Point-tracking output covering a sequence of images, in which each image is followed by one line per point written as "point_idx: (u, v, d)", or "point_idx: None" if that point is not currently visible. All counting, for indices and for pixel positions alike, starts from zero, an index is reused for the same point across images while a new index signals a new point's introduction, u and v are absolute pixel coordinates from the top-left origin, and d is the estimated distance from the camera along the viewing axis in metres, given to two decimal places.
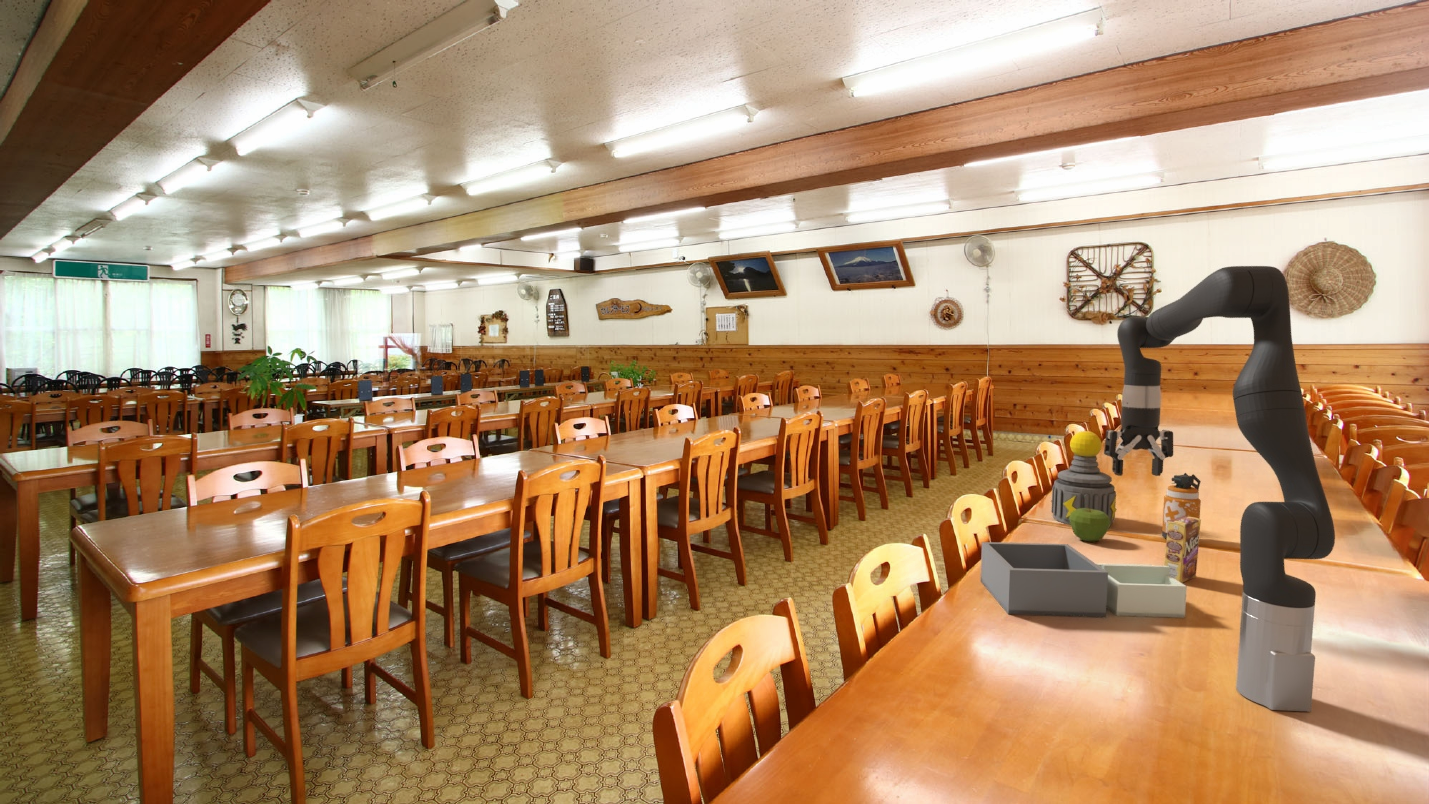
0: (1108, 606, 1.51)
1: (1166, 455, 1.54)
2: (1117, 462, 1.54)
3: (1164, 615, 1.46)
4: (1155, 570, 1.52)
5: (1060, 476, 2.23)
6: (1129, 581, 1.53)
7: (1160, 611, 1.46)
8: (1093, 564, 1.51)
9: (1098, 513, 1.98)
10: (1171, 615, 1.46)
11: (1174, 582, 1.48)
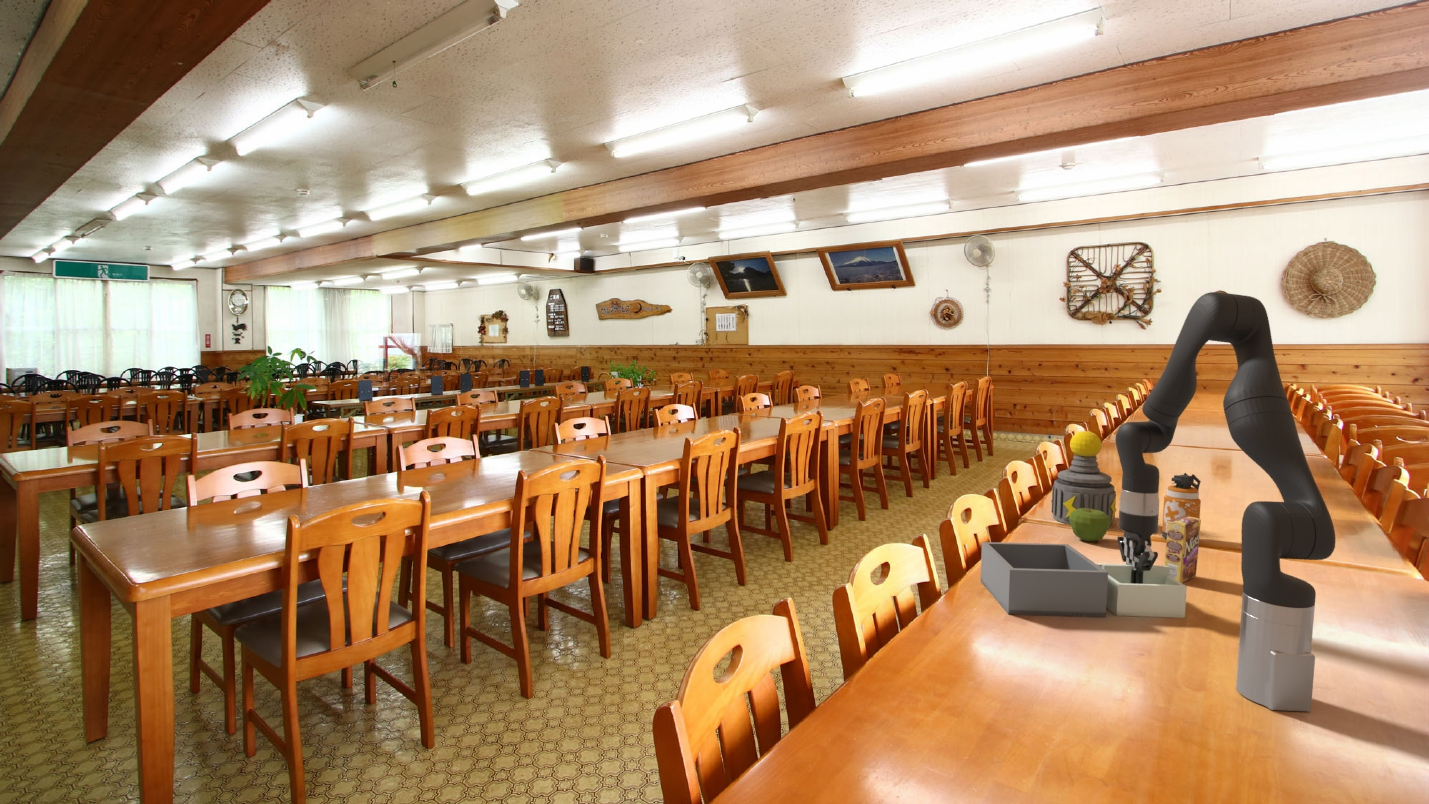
0: (1108, 606, 1.51)
1: None
2: None
3: (1164, 615, 1.46)
4: (1155, 570, 1.52)
5: (1060, 476, 2.23)
6: (1129, 581, 1.53)
7: (1160, 611, 1.46)
8: (1093, 564, 1.51)
9: (1098, 513, 1.98)
10: (1171, 615, 1.46)
11: (1174, 583, 1.48)
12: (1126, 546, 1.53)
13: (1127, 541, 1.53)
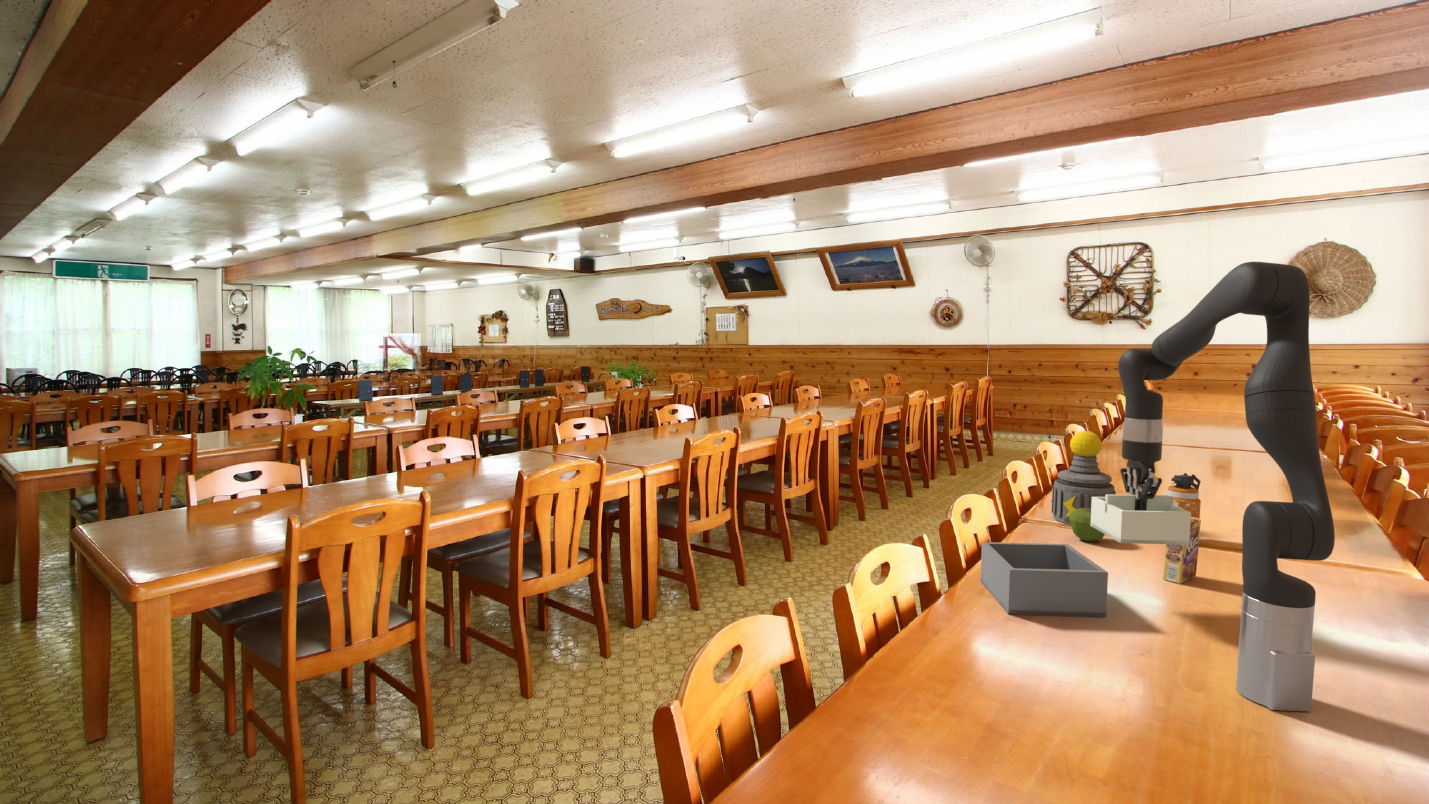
0: (1112, 535, 1.49)
1: None
2: None
3: (1168, 542, 1.45)
4: (1159, 500, 1.50)
5: (1060, 476, 2.23)
6: (1133, 511, 1.51)
7: (1164, 538, 1.45)
8: (1093, 564, 1.51)
9: None
10: (1175, 542, 1.45)
11: (1179, 510, 1.47)
12: (1129, 476, 1.52)
13: (1130, 470, 1.52)
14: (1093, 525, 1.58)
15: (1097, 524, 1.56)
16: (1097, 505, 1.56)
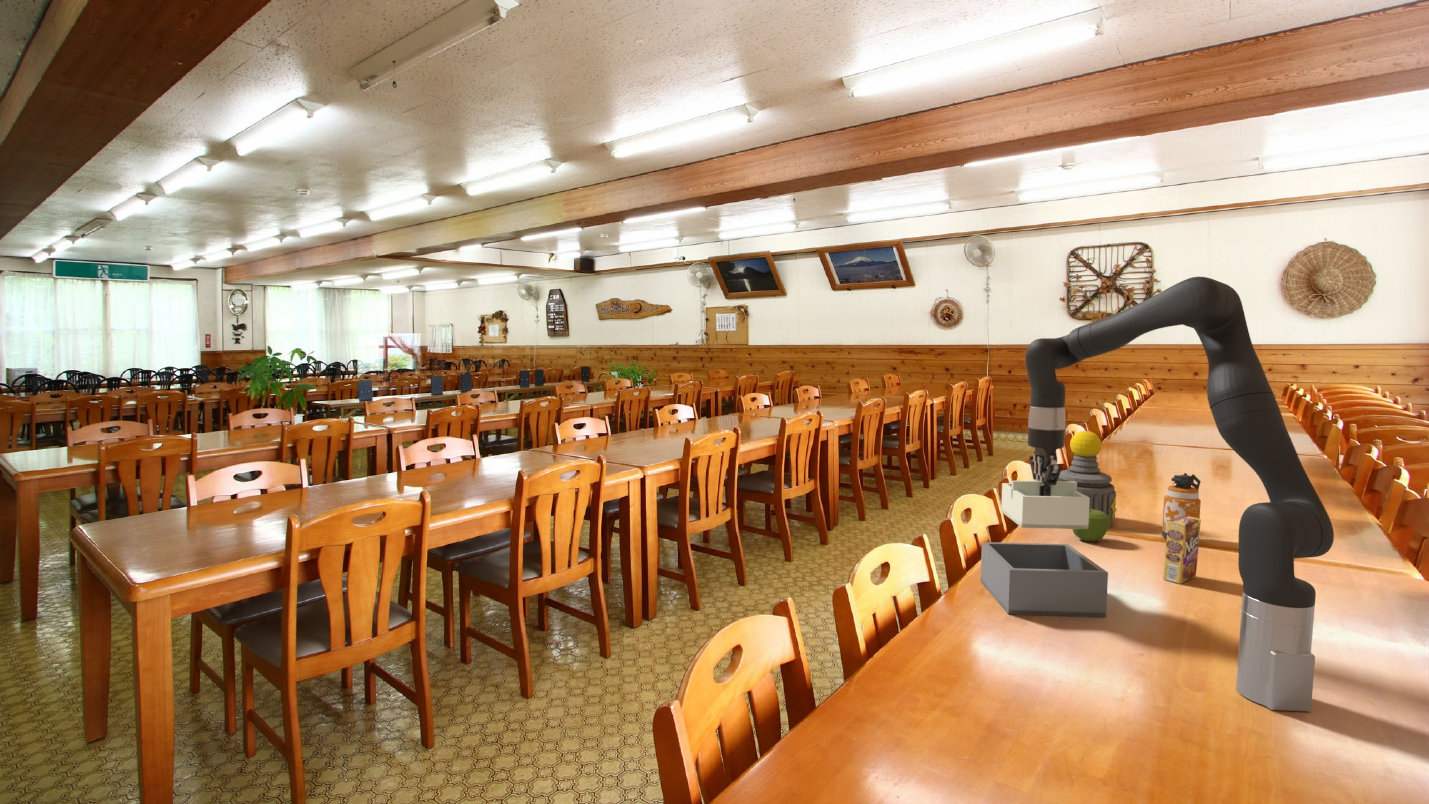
0: (1016, 520, 1.53)
1: None
2: None
3: (1068, 527, 1.48)
4: (1063, 486, 1.54)
5: (1060, 476, 2.23)
6: None
7: (1064, 523, 1.48)
8: (1093, 564, 1.51)
9: (1098, 513, 1.98)
10: (1075, 526, 1.48)
11: (1079, 496, 1.50)
12: (1035, 463, 1.56)
13: (1036, 458, 1.55)
14: (1003, 511, 1.62)
15: (1006, 510, 1.60)
16: (1006, 491, 1.60)
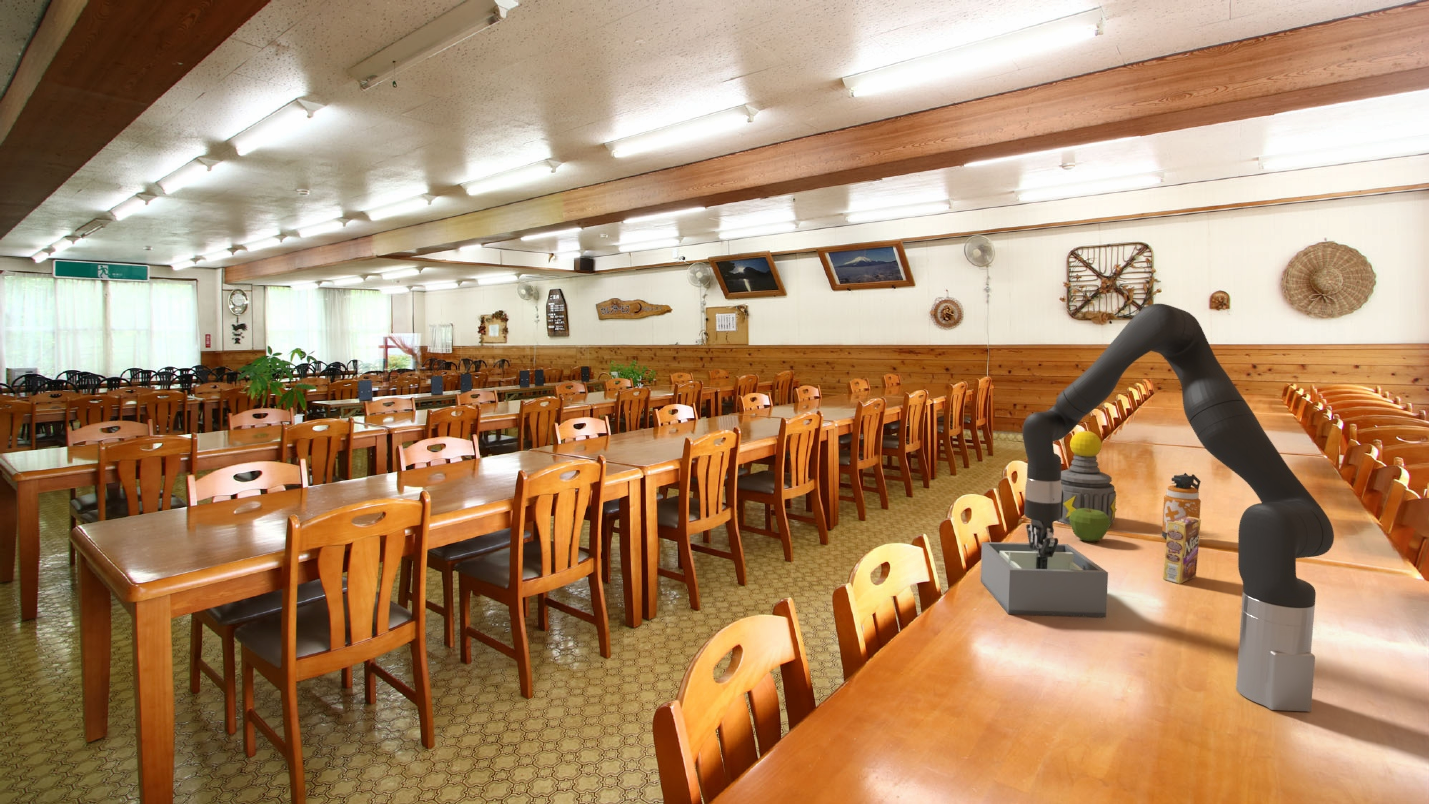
0: None
1: None
2: None
3: None
4: (1060, 557, 1.55)
5: None
6: (1034, 567, 1.56)
7: None
8: (1093, 564, 1.51)
9: (1098, 513, 1.98)
10: None
11: (1076, 568, 1.52)
12: (1032, 533, 1.57)
13: (1032, 528, 1.57)
14: None
15: None
16: None
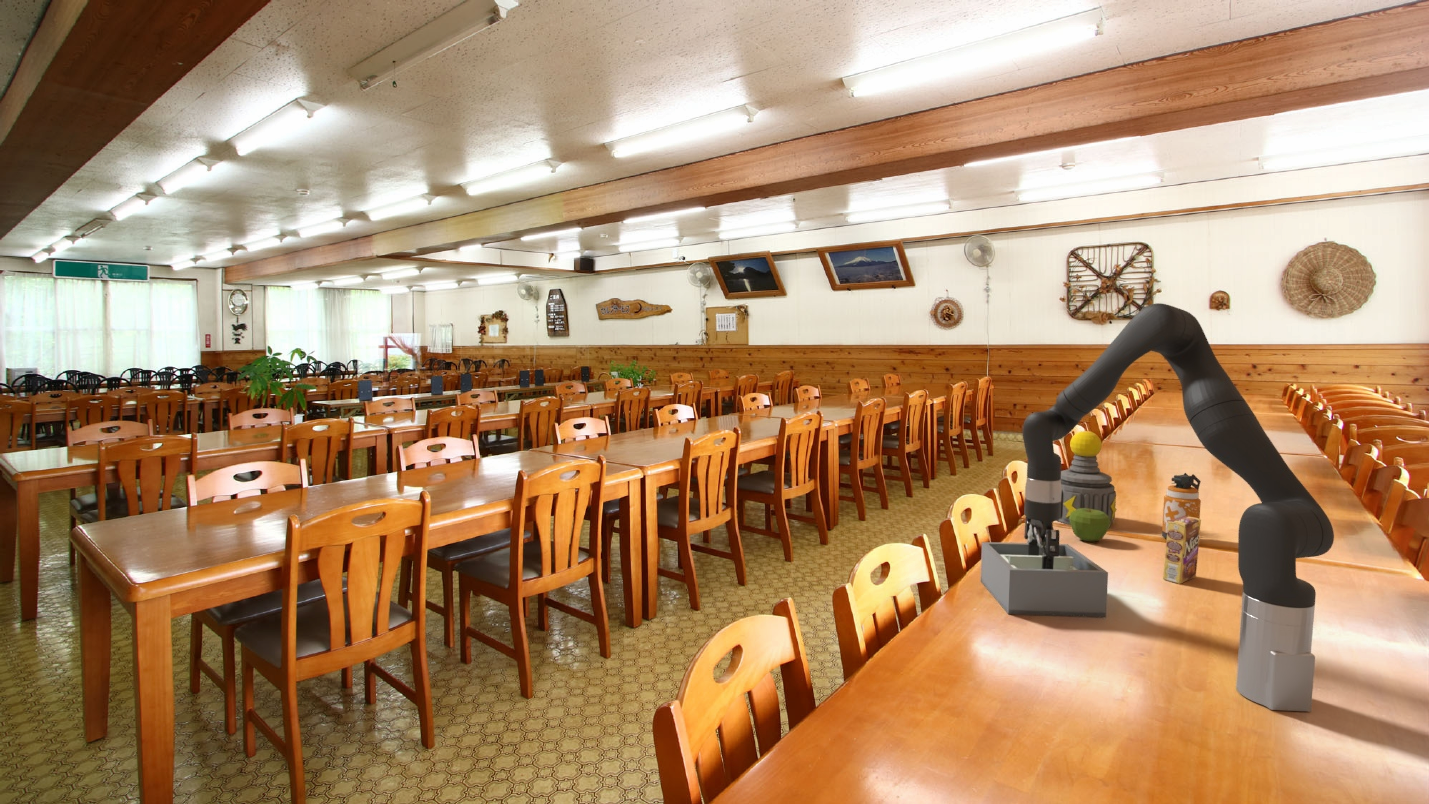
0: None
1: None
2: None
3: None
4: (1059, 561, 1.55)
5: None
6: None
7: None
8: (1093, 564, 1.51)
9: (1098, 513, 1.98)
10: None
11: None
12: (1030, 531, 1.58)
13: (1032, 529, 1.57)
14: None
15: None
16: None
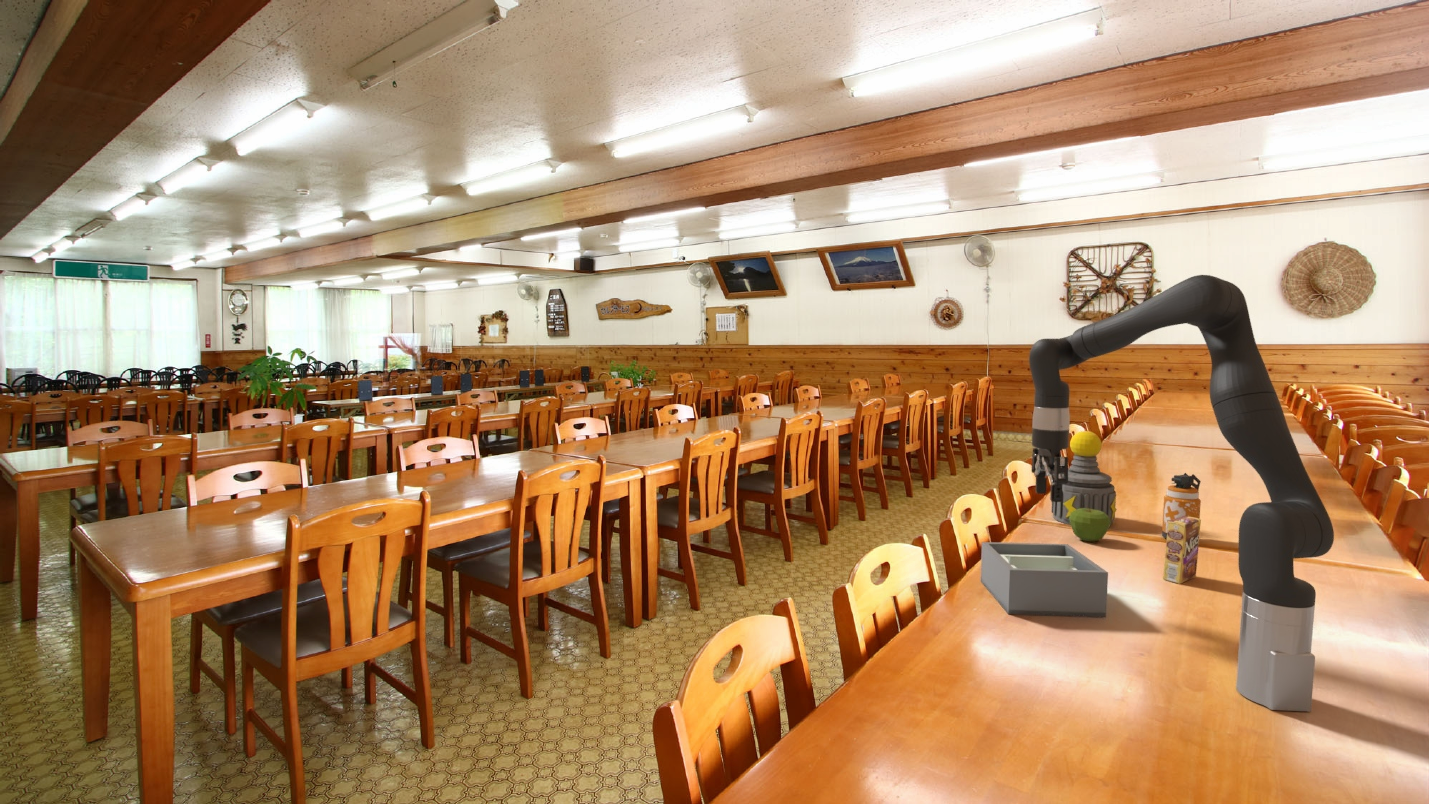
0: None
1: None
2: None
3: None
4: (1059, 561, 1.55)
5: None
6: None
7: None
8: (1093, 564, 1.51)
9: (1098, 513, 1.98)
10: None
11: None
12: (1038, 462, 1.56)
13: (1040, 460, 1.55)
14: None
15: None
16: None
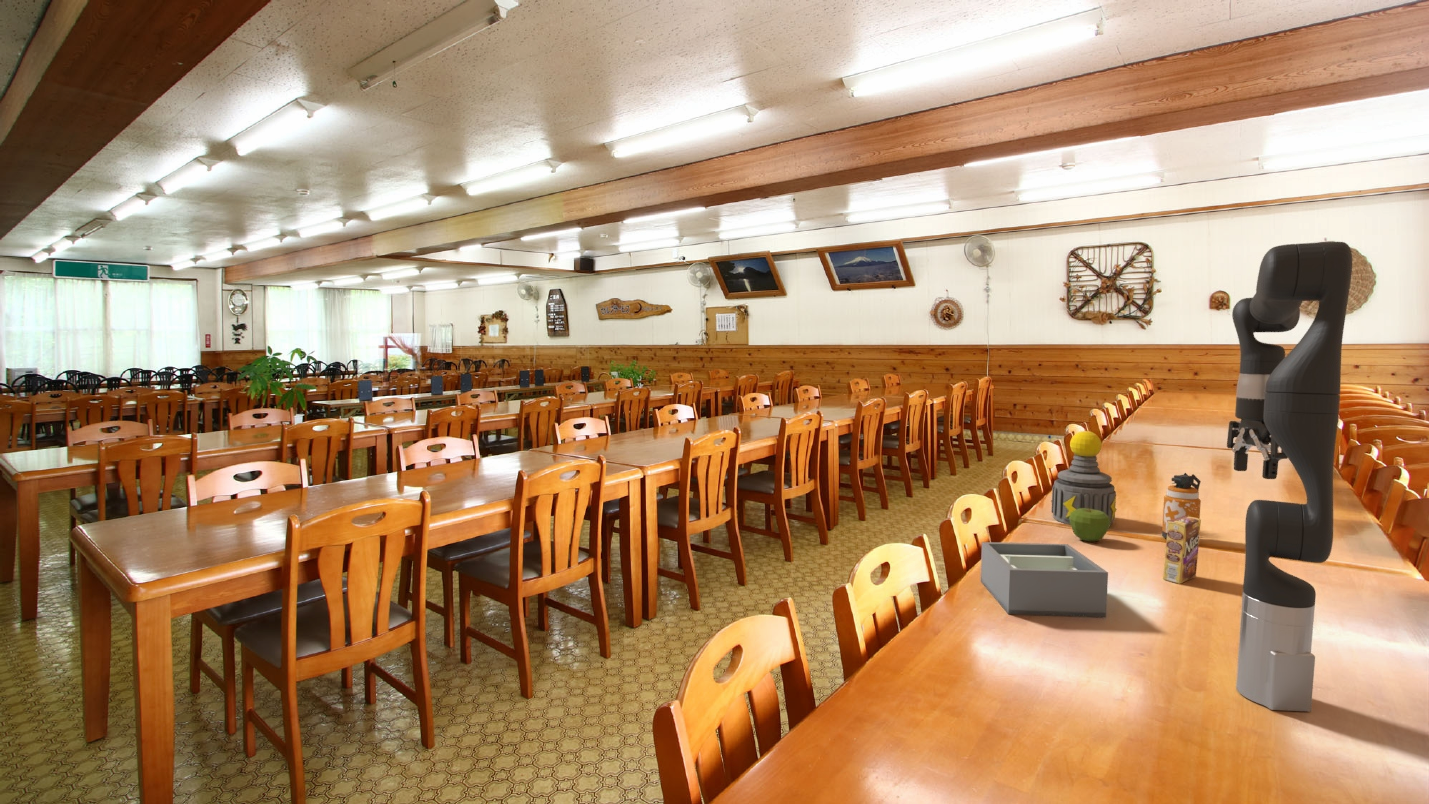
0: None
1: None
2: None
3: None
4: (1059, 561, 1.55)
5: (1060, 476, 2.23)
6: None
7: None
8: (1093, 564, 1.51)
9: (1098, 513, 1.98)
10: None
11: None
12: (1241, 436, 1.40)
13: (1245, 433, 1.39)
14: None
15: None
16: None
